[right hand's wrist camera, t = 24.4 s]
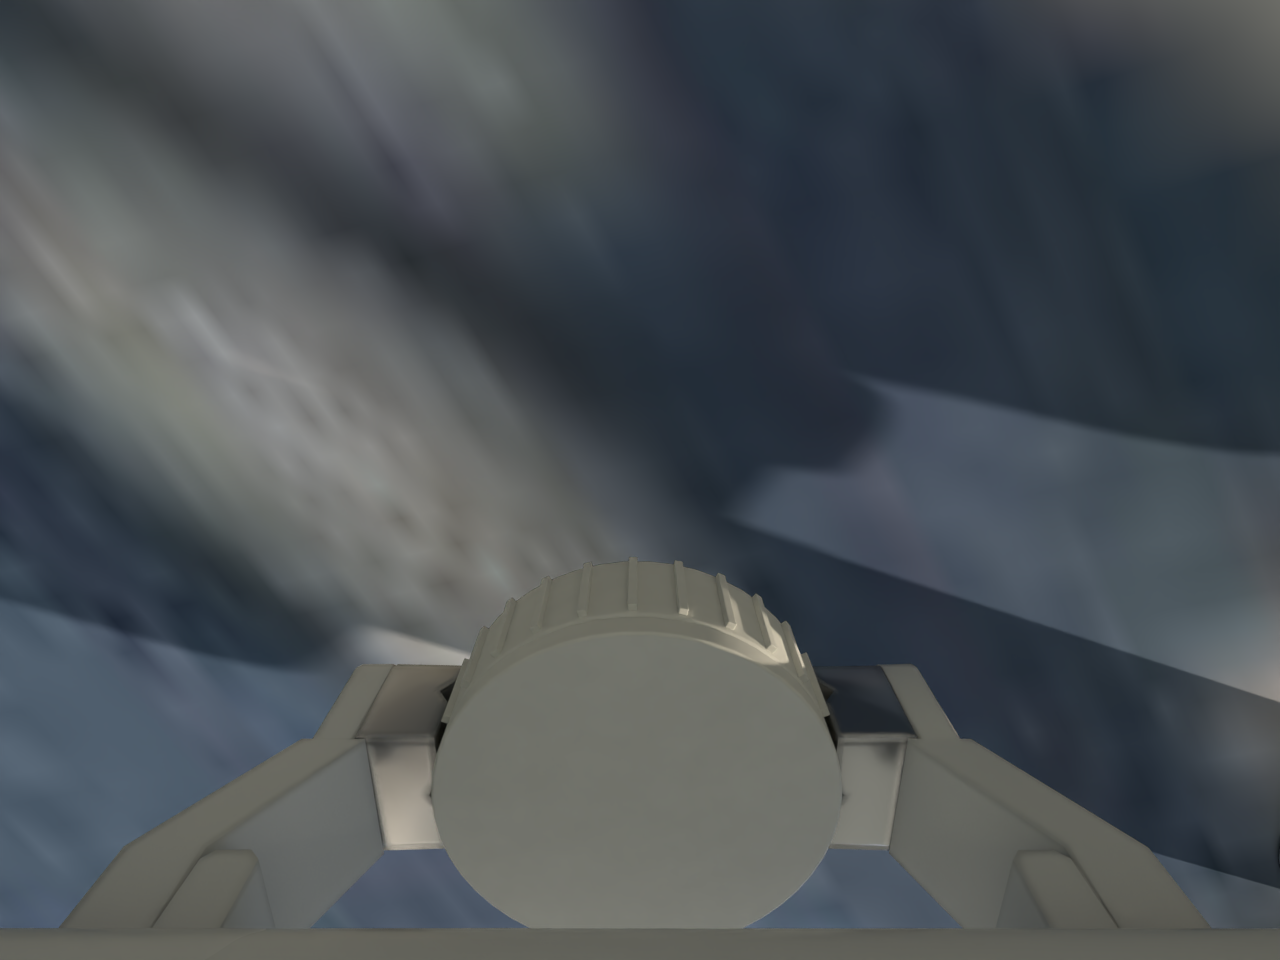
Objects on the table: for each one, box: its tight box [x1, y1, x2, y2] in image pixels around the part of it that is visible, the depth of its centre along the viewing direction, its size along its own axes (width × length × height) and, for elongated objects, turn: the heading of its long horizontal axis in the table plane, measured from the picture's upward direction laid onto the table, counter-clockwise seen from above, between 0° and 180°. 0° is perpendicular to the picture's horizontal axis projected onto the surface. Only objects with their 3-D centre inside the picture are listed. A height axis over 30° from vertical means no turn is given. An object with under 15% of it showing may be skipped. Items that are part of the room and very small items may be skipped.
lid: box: [431, 557, 842, 928], centre depth 10 cm, size 5×5×2 cm
